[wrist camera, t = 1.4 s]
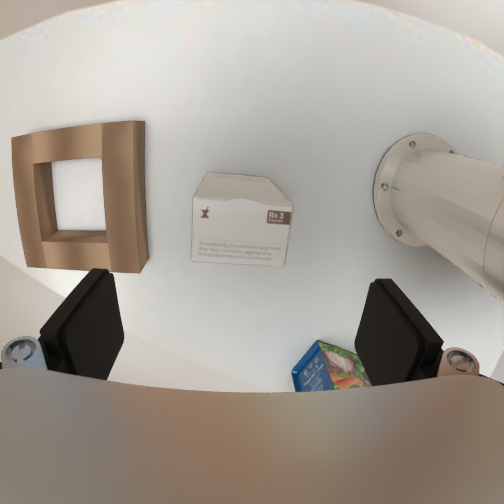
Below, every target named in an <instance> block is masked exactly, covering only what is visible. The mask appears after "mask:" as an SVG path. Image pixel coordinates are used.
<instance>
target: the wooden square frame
mask: <svg viewBox="0 0 504 504" xmlns="http://www.w3.org/2000/svg"><path fill="white" fill-rule="evenodd" d="M11 142H12V167H13V180H14V191H15V200H16V208H17V215H18V222H19V228H20V234H21V240H22V245H23V250H24V255H25V260H26V264H27V267H36V268H50V269H66V270H83V271H90V270H91V269H93V268H100V269H108V270H109V272H120V273H141V271H142V269H143V268H144V266H145V264H146V262H147V261H148V259H149V255H148V241H147V226H146V205H145V160H144V151H145V121H123V122H112V123H101V124H92V125H84V126H76V127H68V128H62V129H55V130H49V131H43V132H37V133H32V134H27V135H22V136H17V137H12V138H11ZM96 157H102V174H103V194H104V208H105V220H106V231H72V230H57V223H56V215H55V206H54V196H53V185H52V170H51V162H52V161H61V160H71V159H83V158H96Z"/></svg>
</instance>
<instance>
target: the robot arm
mask: <svg viewBox="0 0 504 504" xmlns="http://www.w3.org/2000/svg"><path fill="white" fill-rule="evenodd" d="M409 143H410V145H409ZM381 184H383V186H382V187H381ZM374 204H375V210H376V213H377V216H378V219H379V221H380V222H381V224H382V226H383V228H384V229H385V230H386V231H387V232H388V233H389V235H391V236H392V237H393V238H394V239H395V240H397V241H399V242H400V243H402V244H404V245H408V246H411V247H423V246H430V247H431V248H432V249H434V250H435V251H437V252H438V253H439V254H441V255H442V256H443V257H445V258H446V259H447V260H449V261H450V262H451V263H453V264H454V265H455V266H456V267H458V268H459V269H460V270H462V271H463V272H464V273H465V274H467V275H468V276H469V277H471V278H472V279H473V280H474V281H475V282H477V283H478V284H479V285H480V286H482V287H483V288H484V289H485V290H486V291H488V292H489V293H490V294H491V295H493V296H494V297H495V298H496V299H498V300H499V301H500V302H501V303H502V304H504V167H503V166H500V165H496V164H493V163H489V162H485V161H481V160H477V159H473V158H469V157H465V156H461V155H458V154H457V152H456V151H455V150H454V149H453V147H452V146H451V145H450V144H449V143H447V142H446V141H444V140H443V139H441V138H439V137H436V136H434V135H428V134H415V135H410V136H407V137H405V138H403V139H401V140H399V141H398V142H397V143H396V144H394V145H393V146H392V147H391V148H390V149H389V151H388V152H387V153H386V154H385V156H384V158H383V159H382V161H381V163H380V165H379V168H378V171H377V173H376V177H375V183H374ZM40 334H41V336H40V337H39V339H38V340H37V339H36V338H34V337H30V336H22V337H18V338H15V339H13V340H11V341H10V342H8V343H7V344H6V345H5V346H4V348H3V350H2V353H1V360H2V362H0V504H504V384H503V383H501V382H498V381H496V380H493V379H491V378H488V377H486V376H484V375H481V374H479V362H478V361H477V359H476V358H475V356H474V355H473V354H471V353H470V352H468V351H466V350H464V349H461V348H457V347H452V348H448V349H446V350H445V351H443V350H442V348H441V347H442V345H443V343H444V341H443V340H442V339H441V337H440V336H439V335H438V334H437V332H436V331H435V330H434V329H433V327H432V326H431V325H430V324H429V323H428V321H427V320H426V319H425V318H424V316H423V315H422V314H421V313H420V312H419V310H418V309H417V308H416V307H415V306H414V305H413V303H412V302H411V301H410V300H409V299H408V297H407V296H406V295H405V294H404V293H403V292H402V291H401V289H400V288H399V287H398V286H397V285H396V284H395V283H394V281H393V280H392V279H376V280H375V281H374V282H372V283H371V284H370V287H369V291H368V295H367V299H366V302H365V306H364V310H363V314H362V317H361V321H360V325H359V328H358V332H357V335H356V338H355V350H356V352H357V354H358V356H359V358H360V361H361V363H362V365H363V367H364V369H365V372H366V374H367V376H368V378H369V380H370V383H371V385H372V386H371V387H362V388H352V389H340V390H327V391H311V392H283V393H239V392H211V391H193V390H181V389H170V388H160V387H150V386H142V385H134V384H127V383H120V382H113V381H107V378H108V376H109V374H110V371H111V369H112V367H113V364H114V362H115V360H116V358H117V355H118V353H119V351H120V349H121V347H122V344H123V341H124V331H123V326H122V321H121V316H120V311H119V305H118V299H117V293H116V287H115V281H114V275H113V274H112V273H110V272H109V270H108V269H100V268H93V269H91V270H90V272H89V273H88V274H87V275H86V276H85V277H84V278H83V279H82V280H81V282H80V283H79V284H78V285H77V286H76V287H75V288H74V290H73V291H72V292H71V293H70V294H69V295H68V297H67V298H66V299H65V300H64V302H63V303H62V304H61V305H60V306H59V307H58V308H57V310H56V311H55V312H54V313H53V315H52V316H51V317H50V318H49V320H48V321H47V322H46V323H45V325H44V326H43V327H42V328H41V329H40Z"/></svg>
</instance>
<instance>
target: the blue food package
mask: <svg viewBox="0 0 504 504" xmlns="http://www.w3.org/2000/svg"><path fill="white" fill-rule="evenodd" d="M291 373H292V378H293V382H294V387H295V391H296V392H311V391H327V390H340V389H352V388H362V387H371V386H372V385H371V383H370V380H369V378H368V376H367V374H366V372H365V369H364V367H363V365H362V363H361V361H360V358H359V356H357V355H355V354H353V353H351V352H348V351H345V350H343V349H341V348H338V347H335V346H332V345H328V344H324V343H322V342H319V341H317V342H316V343H315V344H314V345H313V346H312V348H311V349H310V350H309V351H308V352H307V354H306V355H305V356H304V357H303V358H302V360H301V361H300V362H299V363H298V364H297V365H296V367H295V368H294V369H293V370H292V372H291Z"/></svg>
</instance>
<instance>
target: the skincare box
mask: <svg viewBox="0 0 504 504" xmlns="http://www.w3.org/2000/svg"><path fill="white" fill-rule="evenodd" d="M192 199H193V205H192V241H191V261H192V262H209V263H226V264H245V265H263V266H281V267H284V266H285V262H286V255H287V248H288V241H289V234H290V228H291V222H292V215H293V208H294V206H293V204H292V203H291V202H290V201H289V200H288V199H287V198H286V197H285V196H284V195H283V194H282V193H281V191H280V190H279V189H278V188H277V187H276V186H275V185H274V184H273V183H272V182H271V181H270V180H269V179H268V178H266V177H256V176H246V175H235V174H223V173H211V172H207V173H206V174H205V176H204V178H203V180H202V181H201V183H200V185H199V187H198V188H197V190H196V193H195V194H194V196H193V198H192Z"/></svg>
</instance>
